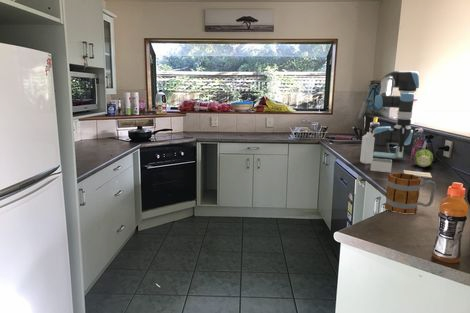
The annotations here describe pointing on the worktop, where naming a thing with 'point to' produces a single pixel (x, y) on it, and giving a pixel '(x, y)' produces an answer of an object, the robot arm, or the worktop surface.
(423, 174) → the board
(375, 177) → the worktop surface
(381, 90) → the robot arm
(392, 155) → the lid
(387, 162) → the tub
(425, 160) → the lettuce
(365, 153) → the milk
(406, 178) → the mug
